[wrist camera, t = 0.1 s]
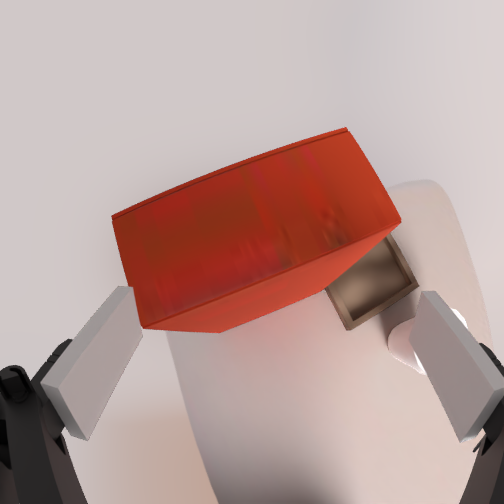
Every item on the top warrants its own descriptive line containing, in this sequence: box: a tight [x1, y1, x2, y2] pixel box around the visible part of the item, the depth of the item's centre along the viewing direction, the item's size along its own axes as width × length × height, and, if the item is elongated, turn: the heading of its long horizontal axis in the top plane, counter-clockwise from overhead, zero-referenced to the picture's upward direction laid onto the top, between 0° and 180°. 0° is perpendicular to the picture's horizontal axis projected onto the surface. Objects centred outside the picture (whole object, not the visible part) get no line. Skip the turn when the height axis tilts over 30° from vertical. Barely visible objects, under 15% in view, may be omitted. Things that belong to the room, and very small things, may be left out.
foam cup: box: [387, 308, 469, 375], centre depth 40 cm, size 10×9×13 cm
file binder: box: [111, 127, 401, 333], centre depth 34 cm, size 8×17×32 cm, turn 112°
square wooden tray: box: [324, 233, 419, 330], centre depth 48 cm, size 14×14×2 cm
